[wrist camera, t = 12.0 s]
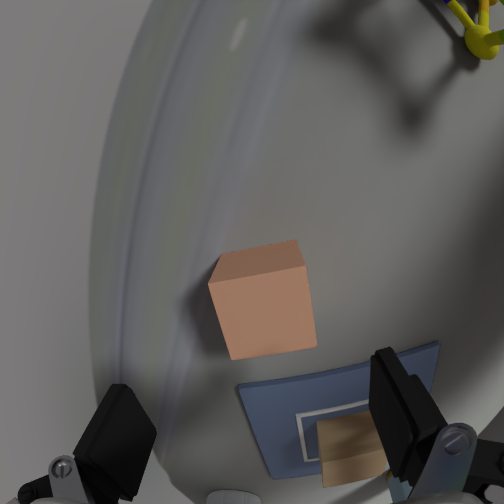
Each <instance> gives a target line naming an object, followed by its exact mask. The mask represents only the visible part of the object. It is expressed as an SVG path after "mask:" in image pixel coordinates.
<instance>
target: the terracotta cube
mask: <svg viewBox="0 0 504 504" xmlns="http://www.w3.org/2000/svg"><path fill="white" fill-rule="evenodd" d="M208 286H209V290H210V293H211V296H212V300H213V303H214V306H215V310H216V313H217V316H218V319H219V323H220V326H221V329H222V332H223V335H224V338H225V341H226V344H227V348H228V351H229V354H230V357H231V360H237V359H245V358H252V357H259V356H266V355H272V354H279V353H285V352H290V351H296V350H302V349H307V348H312V347H317V340H316V332H315V325H314V317H313V310H312V303H311V297H310V290H309V283H308V277H307V271H306V265H305V262H304V260H303V257H302V254H301V252H300V249H299V246H298V244H297V241H296V240H291V241H286V242H281V243H276V244H271V245H266V246H261V247H256V248H250V249H245V250H240V251H235V252H230V253H225V254H221V256H220V259H219V261H218V263H217V265H216V267H215V269H214V271H213V274H212V276H211V278H210V280H209V282H208Z"/></svg>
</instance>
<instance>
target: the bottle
mask: <svg viewBox="0 0 504 504" xmlns="http://www.w3.org/2000/svg"><path fill="white" fill-rule="evenodd" d="M387 482H388V486H389V490H390V493H391V497H392V501H393V503H395V502H399V501H402V500H406V499H407V497H408V495H409V493H410V491H411V489H412V487H411V486H409V483H408V480H407V481H404V482H402V483H400V480H399V477H397V478H394V477H393V475H392V472H391V471H390V472H389V474H388V476H387Z"/></svg>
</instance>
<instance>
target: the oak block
mask: <svg viewBox="0 0 504 504" xmlns="http://www.w3.org/2000/svg"><path fill="white" fill-rule="evenodd" d="M316 422H317V435H318V450H319V458H320V466H321V474H322V482H323V488H326V487H331V486H337V485H342V484H347V483H351V482H356V481H360V480H364V479H368V478H372V477H376V476H379V475H382V473H383V471H384V468H385V465H386V462H387V457H386V454H385V452H384V449H383V446H382V443H381V440H380V438H379V435H378V432H377V429H376V427H375V424H374V421H373V419H372V416H371V413H370V411H369V410H367V411H363V412H359V413H354V414H350V415H345V416H341V417H336V418H330V419H325V420H319V421H316Z"/></svg>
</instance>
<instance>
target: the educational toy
mask: <svg viewBox="0 0 504 504" xmlns="http://www.w3.org/2000/svg"><path fill="white" fill-rule="evenodd" d="M443 1H444V2H445V3H446V4H447V5H448V6H449V8H450V9H451V10H452V11H453V12H454V14H455V15H456V16H457V17H458V19H459V20H460V21H461V22H462V24H463V25H464V26H465V28H466V29H467V30H466V32H465V36H464V37H465V43H466V45H467V47H468V49H469V50H470V52H472V53H473V54H474V55H475V56H476V57H478V58H480V59H483V60H491V59H493V58H494V57H495V56H496V55H497V54H498V51H499V45H502V44H504V29H503V30H500V31H496V32H491V31H490V30H489V6H492V5H495V4H496V3H497V2H498V0H478V1H479V11H478V25H475V24H474V22H473V21H472V20H471V18H470V17H469V16H468V15H467V13H466V12H465V11H464V10H463V8H462V7H461V6H460V5H459V3H458V2H457V1H456V0H443ZM499 1H500V2H501V3H502V4H503V5H504V0H499Z"/></svg>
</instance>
